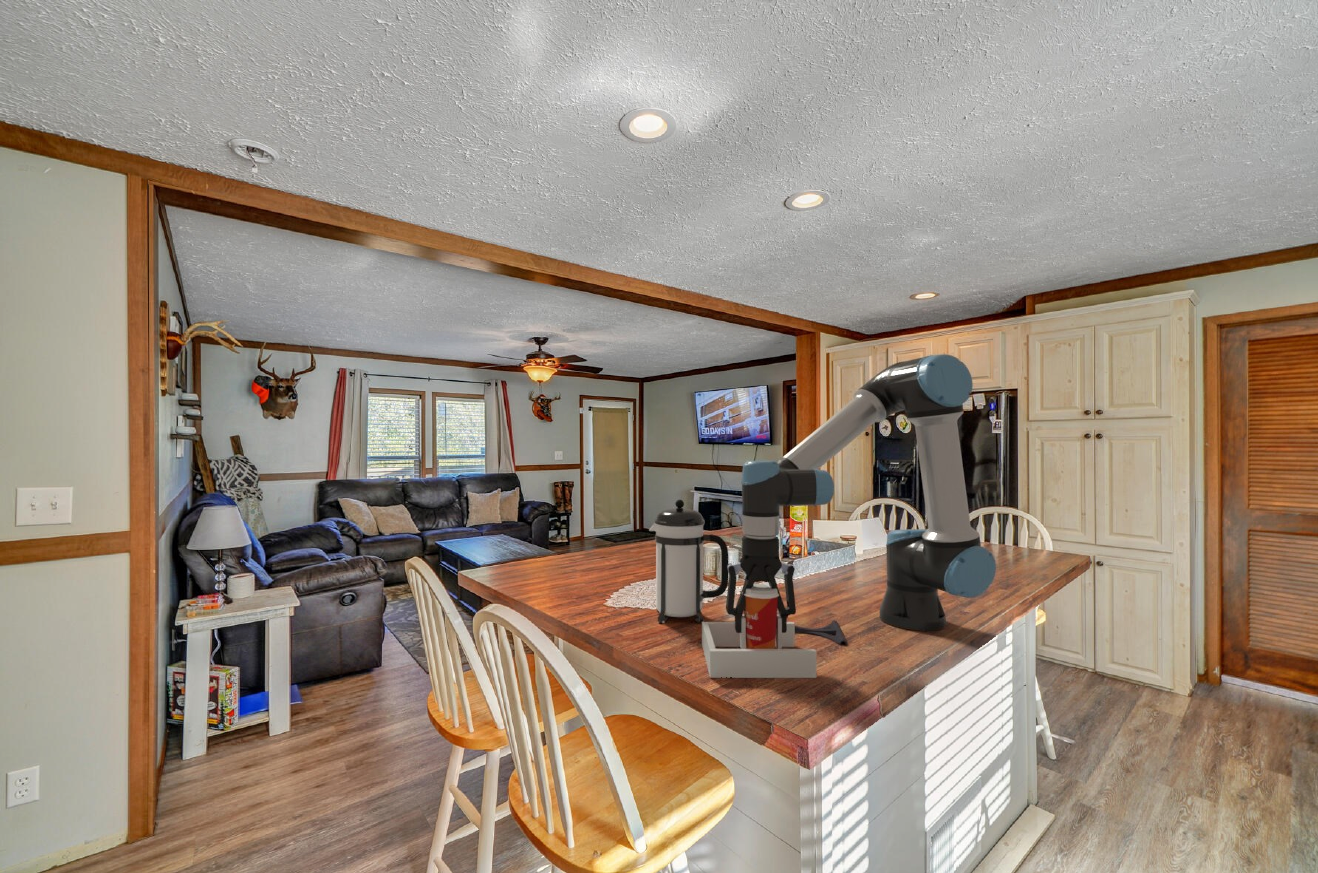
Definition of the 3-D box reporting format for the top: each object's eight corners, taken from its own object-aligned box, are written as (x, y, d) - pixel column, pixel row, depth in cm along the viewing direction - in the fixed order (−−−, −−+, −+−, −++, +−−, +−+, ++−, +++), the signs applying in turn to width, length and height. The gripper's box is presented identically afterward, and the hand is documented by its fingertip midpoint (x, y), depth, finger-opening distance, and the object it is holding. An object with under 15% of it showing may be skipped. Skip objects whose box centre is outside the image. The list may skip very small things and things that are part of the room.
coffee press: (682, 631, 131) (682, 504, 131) (638, 616, 142) (638, 499, 143) (730, 616, 142) (730, 499, 143) (685, 603, 154) (686, 495, 155)
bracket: (776, 623, 139) (776, 612, 139) (837, 627, 136) (837, 615, 136) (778, 644, 125) (778, 632, 125) (847, 648, 122) (847, 636, 122)
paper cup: (737, 649, 117) (737, 582, 117) (773, 648, 118) (773, 581, 118) (746, 663, 109) (746, 592, 110) (784, 662, 110) (784, 591, 110)
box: (793, 644, 122) (793, 622, 122) (816, 677, 105) (816, 651, 105) (701, 644, 122) (702, 621, 122) (710, 677, 105) (710, 651, 105)
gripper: (803, 532, 118) (803, 641, 117) (711, 532, 118) (710, 641, 117) (813, 538, 110) (813, 655, 110) (714, 538, 110) (714, 655, 110)
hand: (760, 648), depth 114 cm, fingers closed on paper cup, 7 cm apart
